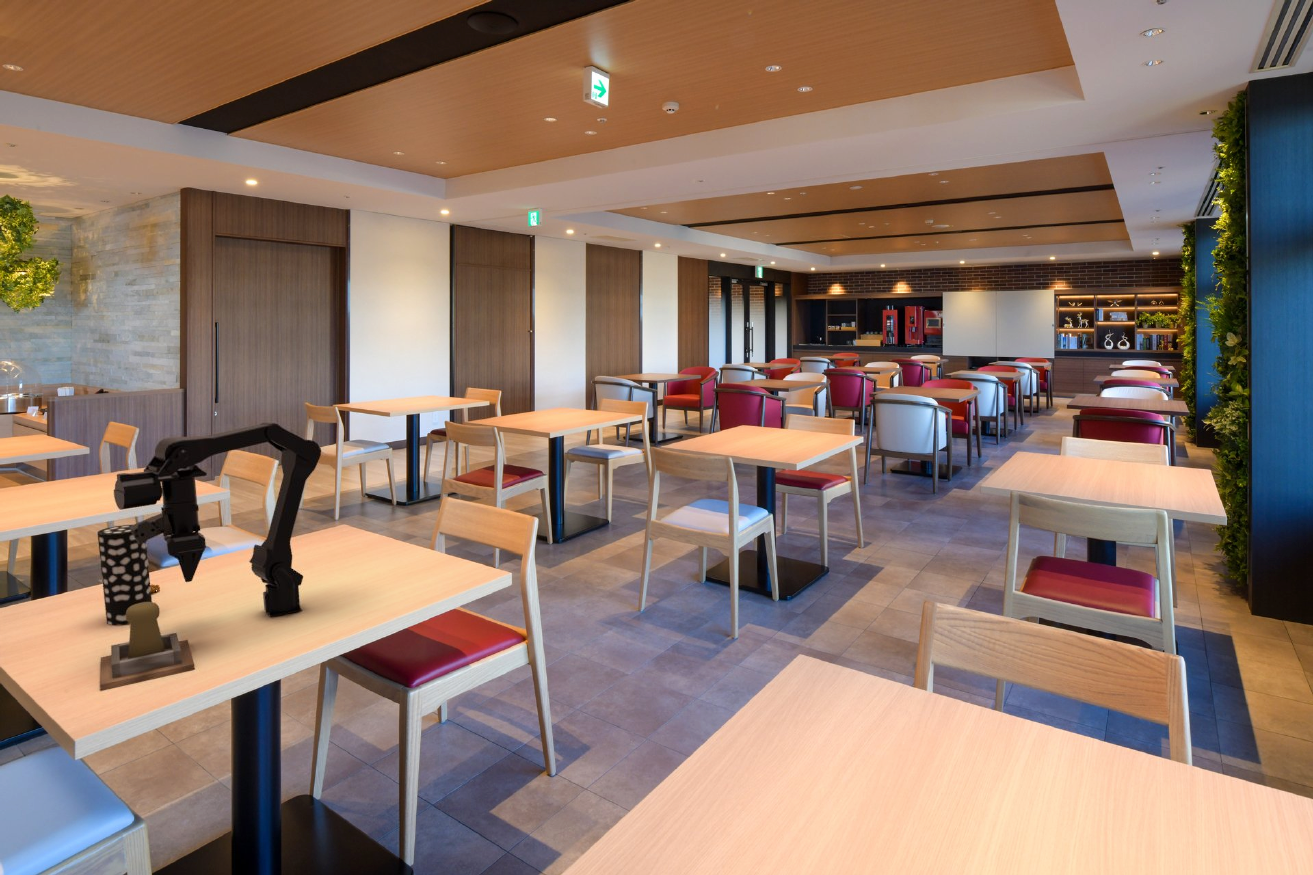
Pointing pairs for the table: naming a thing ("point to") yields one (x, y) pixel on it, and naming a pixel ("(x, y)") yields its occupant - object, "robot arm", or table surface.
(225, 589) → the table surface
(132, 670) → the shaker holder
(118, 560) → the white-spotted black cylinder
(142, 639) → the cork
